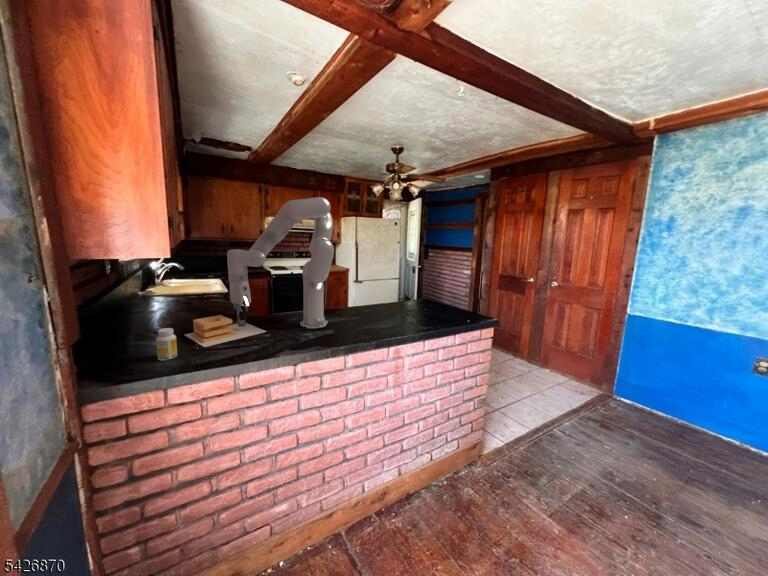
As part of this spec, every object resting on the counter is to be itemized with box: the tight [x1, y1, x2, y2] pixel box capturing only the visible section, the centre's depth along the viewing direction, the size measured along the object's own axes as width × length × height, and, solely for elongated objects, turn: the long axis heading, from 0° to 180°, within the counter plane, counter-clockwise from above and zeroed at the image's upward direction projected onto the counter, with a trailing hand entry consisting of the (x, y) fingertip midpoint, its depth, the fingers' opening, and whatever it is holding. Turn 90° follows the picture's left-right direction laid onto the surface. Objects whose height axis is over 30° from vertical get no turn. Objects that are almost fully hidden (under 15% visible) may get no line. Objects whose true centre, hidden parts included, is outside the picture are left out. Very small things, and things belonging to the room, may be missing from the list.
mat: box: [184, 322, 267, 348], centre depth 134 cm, size 20×26×1 cm
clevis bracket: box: [190, 314, 236, 343], centre depth 129 cm, size 12×13×7 cm
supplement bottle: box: [155, 327, 178, 362], centre depth 107 cm, size 6×6×10 cm
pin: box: [236, 303, 246, 327], centre depth 137 cm, size 3×3×10 cm
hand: (241, 318), depth 137 cm, fingers closed on pin, 3 cm apart
